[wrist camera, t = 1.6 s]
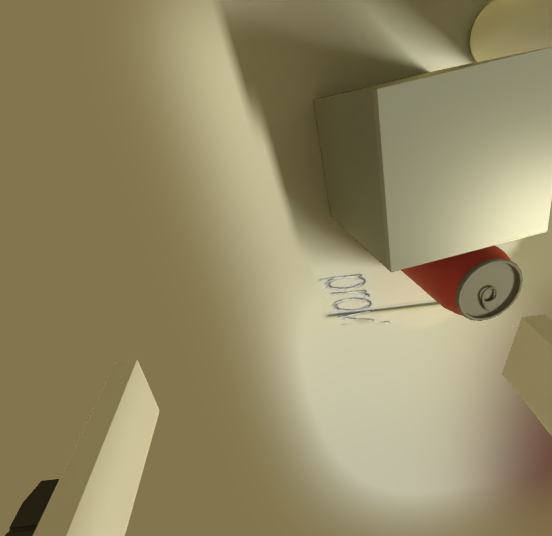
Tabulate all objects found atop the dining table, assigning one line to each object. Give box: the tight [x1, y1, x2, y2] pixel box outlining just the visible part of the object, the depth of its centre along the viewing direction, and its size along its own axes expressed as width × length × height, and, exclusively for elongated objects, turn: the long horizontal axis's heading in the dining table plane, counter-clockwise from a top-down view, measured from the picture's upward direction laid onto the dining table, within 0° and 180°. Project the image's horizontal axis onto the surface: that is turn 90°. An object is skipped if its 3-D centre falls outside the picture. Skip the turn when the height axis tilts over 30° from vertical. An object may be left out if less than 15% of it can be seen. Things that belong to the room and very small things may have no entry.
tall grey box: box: [313, 47, 552, 272], centre depth 27 cm, size 11×11×14 cm
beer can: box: [401, 245, 523, 321], centre depth 33 cm, size 7×7×12 cm
